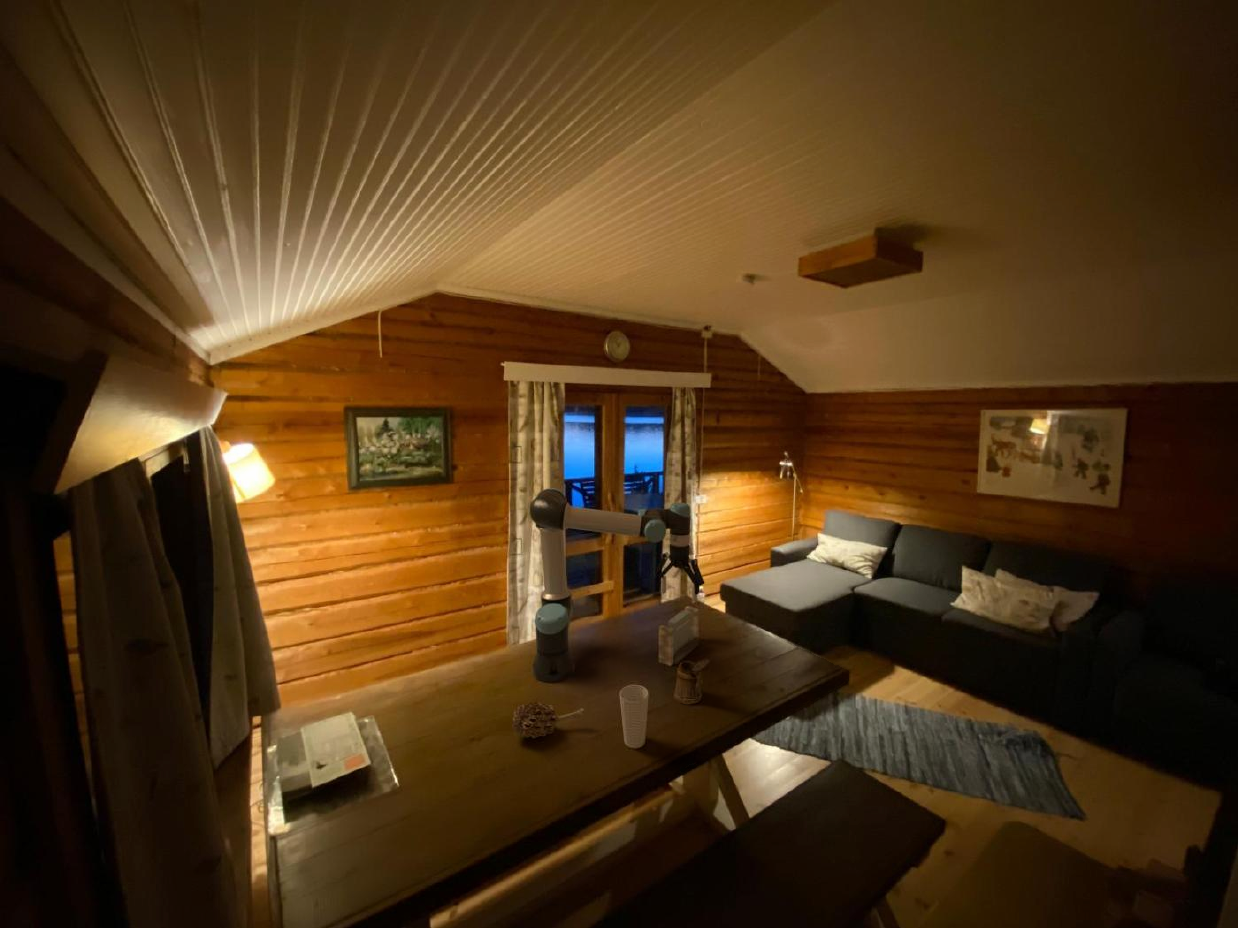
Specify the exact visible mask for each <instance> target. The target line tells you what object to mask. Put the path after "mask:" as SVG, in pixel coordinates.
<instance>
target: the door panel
mask: <svg viewBox="0 0 1238 928" xmlns="http://www.w3.org/2000/svg"><path fill="white" fill-rule="evenodd" d="M667 627H670V628H673V655H674V654H676V653H677V652H678V651H679V650H680V649H682V648H683V647H684V646H685V645H686V644H687V643H689V642H690V612H688V611H685V609H684V610H682V611H680V612H679V613H678V614H676V615H675V616H673V617H672V618H671V619H669V620H668V621H667Z"/></svg>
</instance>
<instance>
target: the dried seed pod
mask: <svg viewBox="0 0 1238 928" xmlns="http://www.w3.org/2000/svg"><path fill="white" fill-rule="evenodd" d="M584 711H585V709H584V708H581V707H580V708H579V710H576V711H574V712H571V713H567V714H563V715H559V716H558V714H556V713H555V709H554V707H553V705H552V704H548V703H547V702H544V703H542V702H540V701H539V702H537V701H534V703H533V702H532V701H531V702H528V703H527V704H522V705H520V706H518V707H517V709H516V710H515V711H513V717H512V729H513V731H514V732H515V731H516V734H517V735H519V736H521V735H522V737H524V738H527V739H528V738H530V737H531V738H532V739H535V738H539V737H545V736H547V735H550V734H553V732H554V729H555V725H556V724H558V723H557V722H560V721H565V720H568V719H571V718H576V717H579V716H584Z"/></svg>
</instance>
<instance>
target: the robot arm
mask: <svg viewBox="0 0 1238 928" xmlns="http://www.w3.org/2000/svg"><path fill="white" fill-rule="evenodd" d="M567 500H568V499H567V498H566V495H565V494H564V492H562V491H561V490H559V489H558V488H553V487H548V488H545V489H543V490H541V491H539V492H538V494H537V495H536V496H535V498H533V500H532V501H531V504H530V506H529V515H530V519H531V520H532V522H533V523H535V529H538V530H539V532H540V533H539V534H540V547H541V548H540V549H541V560H542V573H543V576H542V577H543V586H544V587H543V588H544V590H543V591H542V592H541V593H540V601H541V607H539V608H538V609H537V611H536V613H535V617H534V625H535V643H536V653H535V657H534V660H533V664H532V676H533V677H534V676H535V677H536V678H537V679H536V678H535V677H534V678H535V679H536V680H538V679H539V680H538V681H540V680H541V682H544V681H547V682H546V683H555V682H561V681H563V680H566V679H568V678H570V676H572V675H573V674H574V671H575V661H574V659H573V657H572V654H571V652H570V647H569V646H570V645H569V628H570V625H571V621H572V617H573V614H574V610H575V608H574V607H575V604H574V601H573V598H572V590H571V589H570V588H568V587H567V586H568V585H567V584H568V582H567V571H566V560H565V559H566V554H565V542H564V531H566V530H567V529H575V530H582V531H591V532H598V533H606V534H614V535H621V536H630V537H636V538H643V539H644V538H645V539H647V540H648V541H649V542H651V543H659V542H661V541H663V539H664V538H665V537H666V535H667V530H669V553H668V552H665V553H663V554H662V555H661V560H660V562H659V564H658V566H657V567H656V570H655V571H654V575H655V576H658V577H659V579H658V581H659V585H660V595H664V594H666V593H667V576H666V574H667V573H668V572H669V571H670V570H671V569H672V568H673V567H674V568H676V569H679V570H683V571H684V572H685V573H686V574H687V577H689V579H690V581H691V583H692V584H693V585H692V590H691V603H692V604H695V603H696V602H698V595H699V594H700V587H702V586H703V585H704V584H705V581H704V577H703V575H702V572H701V570H700V568H699V565H698V559H697V558H694V559H693V558H690V552H691V551H690V549H691V548H690V547H691V545H690V543H691V541H690V540H691V507H690V505H689V504H688V503H686V502H672V503H671V504H670V506H669V508H647V507H646V508H640V509H639V510H638V513H637V514H633V513H627V512H626V513H625V512H624V513H623V512H617V511H616V512H615V511H609V510H602V509H594V508H587V507H579V506H572V505H571V504H570V503H569V502H567ZM668 559H669V561H670V562H669V563H668V564H667V561H668ZM666 564H667V566H666V567H664V566H665V565H666ZM663 568H664V569H663Z"/></svg>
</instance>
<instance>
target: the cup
mask: <svg viewBox="0 0 1238 928" xmlns="http://www.w3.org/2000/svg"><path fill="white" fill-rule="evenodd" d="M649 695H650V692H649V690H648V689H647V688H646V687H645V686H644V685H640V684H635V683H634V684H628V685H626V686H623V687H622V688H621V689H620V691H619V702H620V711H621V722H622V731H623V741H624V744H625V745H626V746H627V747H628V748H630V749H639V748H641V747H643V746H644V745H645V742H646V732H647V722H648V710H649V709H648V708H649Z"/></svg>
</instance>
